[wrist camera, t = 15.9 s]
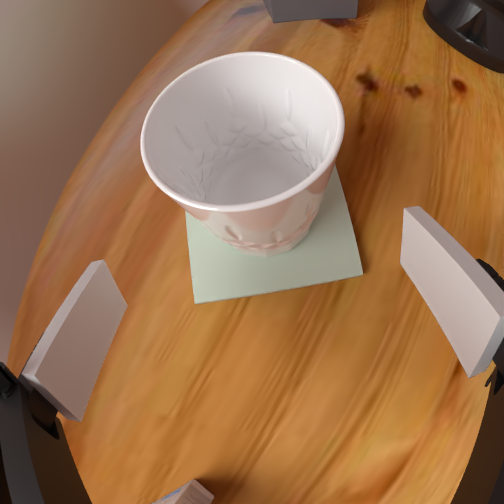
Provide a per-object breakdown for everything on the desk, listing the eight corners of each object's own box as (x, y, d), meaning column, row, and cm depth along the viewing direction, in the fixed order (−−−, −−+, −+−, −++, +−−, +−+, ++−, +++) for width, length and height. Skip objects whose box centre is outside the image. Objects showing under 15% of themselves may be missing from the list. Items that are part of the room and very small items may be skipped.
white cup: (260, 292, 19) (224, 262, 9) (185, 209, 21) (110, 130, 11) (347, 209, 19) (386, 116, 9) (266, 139, 21) (245, 32, 11)
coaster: (323, 136, 21) (324, 130, 21) (360, 276, 19) (363, 274, 18) (185, 162, 22) (182, 158, 22) (198, 304, 20) (194, 303, 19)
